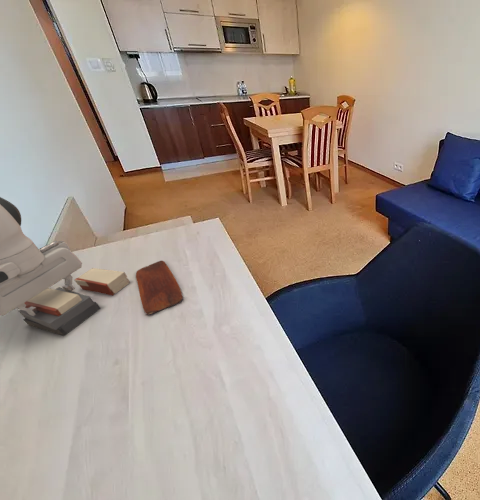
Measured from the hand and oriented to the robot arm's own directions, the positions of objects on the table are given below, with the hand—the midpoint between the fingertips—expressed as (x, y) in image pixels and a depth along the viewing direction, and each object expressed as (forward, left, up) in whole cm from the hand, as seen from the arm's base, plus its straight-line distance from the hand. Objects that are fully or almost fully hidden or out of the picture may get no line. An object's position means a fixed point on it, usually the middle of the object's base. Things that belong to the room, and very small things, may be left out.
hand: (53, 301), depth 81 cm
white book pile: (-1, +13, -6) cm, 14 cm away
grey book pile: (0, 0, -6) cm, 6 cm away
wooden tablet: (+16, +17, -6) cm, 24 cm away
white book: (0, 0, -1) cm, 1 cm away
